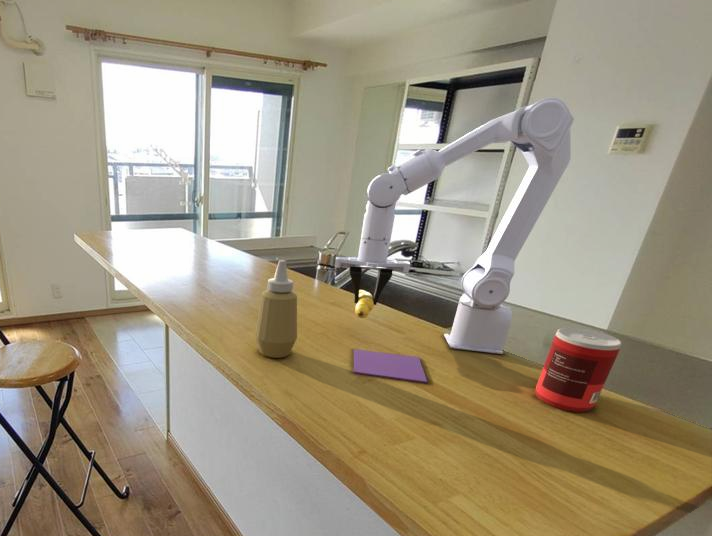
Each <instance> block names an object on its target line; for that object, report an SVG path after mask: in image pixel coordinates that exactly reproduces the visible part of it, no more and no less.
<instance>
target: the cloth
mask: <svg viewBox="0 0 712 536" xmlns="http://www.w3.org/2000/svg"><path fill="white" fill-rule="evenodd" d="M353 374H358V375H365V376H372V377H380V378H388V379H393V380H402V381H407V382H416V383H424V384H427V383H428V380H427V376H426V374H425V371H424V368H423V366H422V363H421V360H420V357H419V356H412V355H404V354H396V353H389V352H388V353H387V352H380V351H372V350H364V349H356V348H354V349H353Z"/></svg>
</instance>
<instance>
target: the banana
mask: <svg viewBox="0 0 712 536" xmlns="http://www.w3.org/2000/svg"><path fill="white" fill-rule="evenodd" d="M374 306H375V305H374V303H373V295H372V294H371V293H370V292H369V291H367V290H364V289H359V299H358V303H356V305H355V307H354V309H355V310H354V312H355V315H356V317H358V318H360V319H365V318H367V317H368V316H369V313H370V312H372V310H373V308H374Z"/></svg>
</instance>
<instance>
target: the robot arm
mask: <svg viewBox="0 0 712 536" xmlns="http://www.w3.org/2000/svg"><path fill="white" fill-rule="evenodd" d="M574 120H575V118H574V116H573V114H572V113H571V111H570V108H569V107H568V106H567V104H566V103H565V102H564V101H563V100H562V99H560V98H557V97H547V98H543V99H540V100H538V101H536V102H535V103H533V104H528V105H524V106H521V107H519V108H518V109H516V110H515V111H512V112H508V113H506V114H504V115H501V116H498V117H496V118H493V119H491V120H489V121H486V123H484V124H482V125H480V126H479V127H477V128H475V129H473V130H472V131H470V132H468V133H467V134H465V135H463V136H462V137H460V138H458V139H457V140H455V141H453V142H451V143H449V144H447V145H446V146H445V147H443V148H441V149H440V150H435V149H431V148H426V149H425V150H423V151H422V149H418V150H416V151H415V152H413V153H412V157H410V158H409V159H407V160H405V161H403V162H401V163H399V164H397V165H396V166H394V165H391V166H389V167H387V171H388V173H385V172H384V173H382V174H380V175H378V176H375V177H374V178H373V179H372V180H371V181H370V183H369V185H368V187H367V189H366V197H367V199H368V200H367V203H366V206H365V211H366V212H365V213H364V216H363V223H362V228H361V235H360V242H359V249H358V255H357V257H355V256H353V257H352V256H350V257H349V256H348V257H347V256H336V257H335V263H334V268H335V269H340V268H344V269H345V268H346V269H349V276H350V278H351V282H352V286H353V293H354V300H353V302H354V304H358V299H359V290H360V286H361V281H362V275H363V270H372V271H373V270H374V271H377V276H376V283H375V289H374V293H373V295H372V297H373V303H374V306H377V305H378V301H379V298H380V296H381V294H382V292H383V291H384V289H385V287H386V286H387V284H388V282H389V281H390V280H391V279H392V277H393V272H398V273H399V272H401V273H406V274H409V271H410V266H411V262H410V261H405V260H396V259H395V260H394V259H388V256H389V250H390V245H391V241H392V240H391V239H392V233H393V228H394V223H395V217H396V216H395V210H396V204H397V202H398V201H399V200H400V198H401V196H402V195H404V196H408V195H409V194H411V193H413V192H415V191H417V190H419V189H420V188H423V187H424V186H426V185H428V184H430V183H432V182H434V181H436V180H438V179H439V178H440V177H441V176H442V174H443V172H444V169H445V168H446V167H448V166H449V165H451V164H453V163H455V162H457V161H459V160H461V159H464V158H465V157H467V156H469V155H471V154H474V153H475V152H477V151H479V150H481V149H483V148H485V147H488V146H489V145H491V144H502V143H508V142H510V144H512V145H513V146H515V147H516V148H517V149H518V150H519V151H521V153H522V155H523V157H524V158H525V161H526V163H527V165H528V168H527V169H528V170H527V171H526V173H525V175H524V177H523V179H522V181H521V183H520V185H519V187H518V189H517V191H516V192H515V194H514V197H513V198H512V200H511V202H510V204H509V206H508V208H507V209H506V212H505V214H504V215H503V217H502V220H501V221H500V223H499V225H498V227H497V229H496V230H495V233H494V235H493V237H492V239H491V241H490V242H489V244H488V247H487V248H486V250H485V252H484V253H482V254H481V255H480V256H479V257H478V258H477V259H476V261H475V263H474V264H473V266H472V267H471V268H470V269H468V270H467V271H466V272H465V273H464V274H463V276H462V278H461V281H460V283H461V284H460V285H461V289H462V290H463V292H464V293H463V294H462V295H461V297H460V298H459V300H458V304H457V308H456V312H455V315H454V320H453V323H452V327H451V331H450V333H444V334H443V337H444V338H445V340H446V342H447V344H448V345H449V348H451V349H454V350H462V351H463V350H465V351H473V352H481V353H488V354H497V355H498V354H499V355H503V354H504V351H503V349H504V346H505V344H506V340H507V337H508V334H509V331H510V329H511V324H512V320H513V311H512V308H511V307H510V306H507V305H506V306H505V305H502V303H504V302H505V301H506V300H507V298H508V297H509V295H510V291H511V281H512V280H513V277H514V275H515V261H516V260H517V258H518V256H519V253H520V252H521V250H522V248H523V247H524V245H525V243H526V241H527V239H528V238H529V236H530V234H531V232H532V231H533V229H534V227H535V225H536V223H537V221H538V220H539V218H540V216H541V215H542V212H543V211H544V209H545V207H546V205H547V203H548V201H549V200H550V198H551V196H552V194H553V192H554V191H555V189H556V187H557V186H558V184H559V182H560V180H561V178H562V176H563V175H564V173H565V171H566V170H567V168H568V166H569V164H570V162H571V158H572V157H571V156H572V155H571V128H572V126H573V123H574Z"/></svg>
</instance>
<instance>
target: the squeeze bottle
mask: <svg viewBox="0 0 712 536" xmlns="http://www.w3.org/2000/svg"><path fill="white" fill-rule="evenodd" d="M266 287H267V289H266V290H264V291H263V292H262V293H261V298H260V303H259V309H258V316H257V321H256V327H255V334H254V336H255V339H256V344H257V347H258V350H259V353H260V354H261V355H263V356H265V357H269V358H274V359H275V358H276V359H280V358H281V359H282V358H285V357H288V356H289V355H290V354H291V352H292V350H293V347H294V345H295V344H296V341H297V339H298V295H297V293H296V292H294V291H293V290H294V281H293V280H292V279H290V278H288V270H287V261H286V260H284V259H279V260H278V263H277V266H276V269H275V273H274V275H273V277H272V278H268V280H267V286H266Z"/></svg>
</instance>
